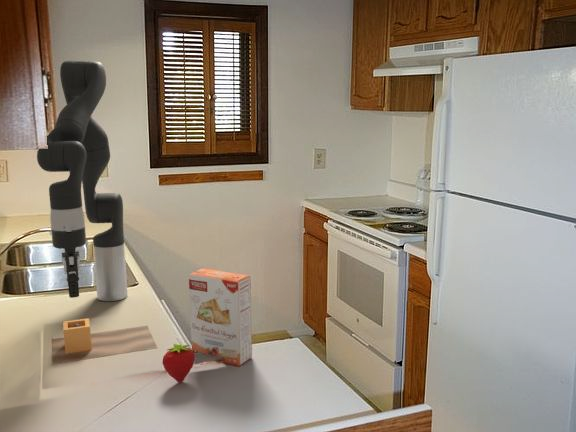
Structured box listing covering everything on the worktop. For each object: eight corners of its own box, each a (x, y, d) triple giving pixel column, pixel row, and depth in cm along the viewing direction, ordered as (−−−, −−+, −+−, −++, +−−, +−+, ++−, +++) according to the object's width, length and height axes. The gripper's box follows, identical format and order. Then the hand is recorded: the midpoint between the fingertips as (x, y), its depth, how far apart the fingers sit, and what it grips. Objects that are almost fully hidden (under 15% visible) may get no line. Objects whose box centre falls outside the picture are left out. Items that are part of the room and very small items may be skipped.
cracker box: (190, 356, 144) (187, 273, 140) (205, 347, 149) (202, 267, 145) (239, 367, 137) (237, 281, 134) (253, 358, 143) (251, 274, 139)
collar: (65, 344, 148) (63, 321, 147) (90, 340, 150) (88, 318, 149) (65, 353, 142) (63, 330, 141) (91, 349, 144) (89, 326, 143)
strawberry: (157, 383, 130) (155, 340, 128) (185, 372, 135) (183, 330, 134) (173, 392, 126) (171, 348, 124) (201, 380, 131) (200, 337, 130)
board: (52, 344, 152) (49, 316, 150) (147, 330, 160) (146, 304, 159) (52, 370, 137) (50, 339, 135) (157, 353, 146) (156, 324, 144)
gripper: (50, 221, 145) (56, 284, 149) (51, 233, 132) (57, 303, 136) (83, 219, 148) (88, 281, 151) (86, 230, 135) (91, 298, 138)
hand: (73, 291), depth 143 cm, fingers open, 8 cm apart
